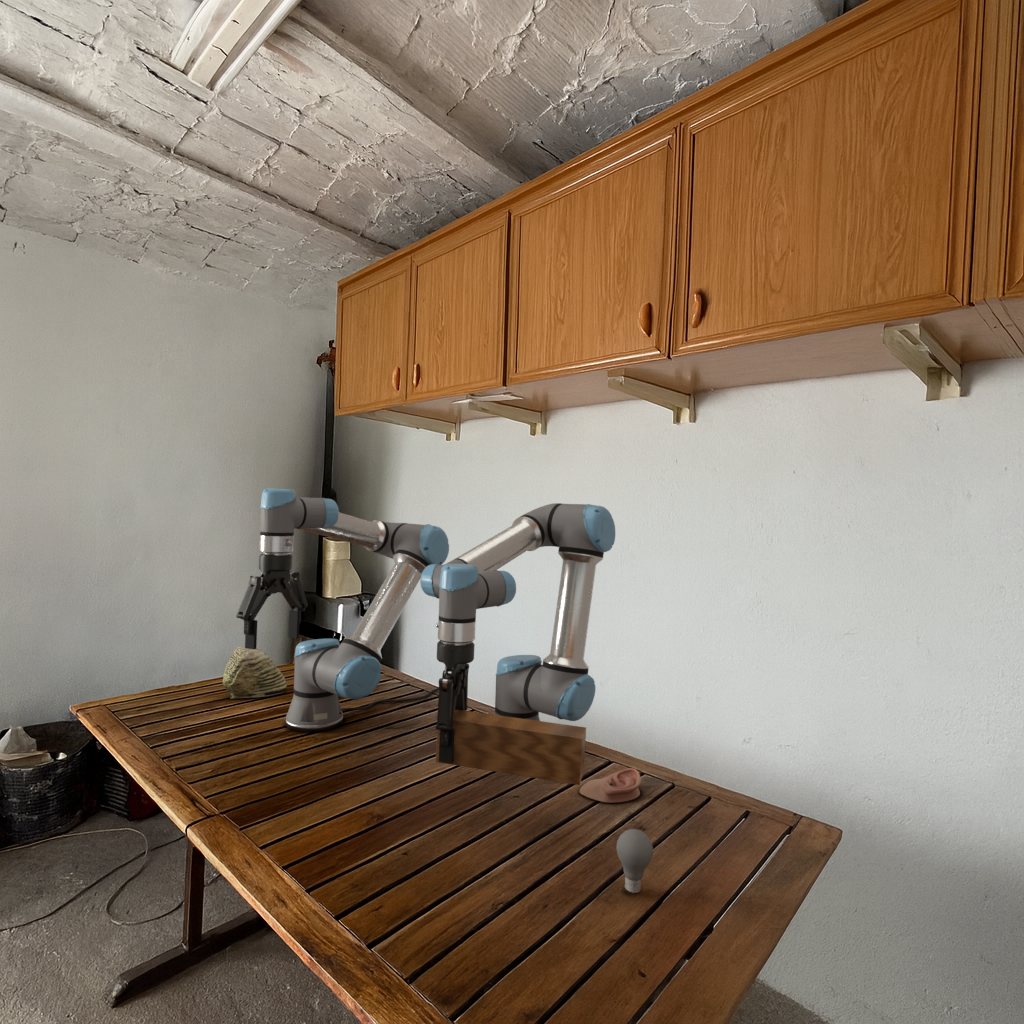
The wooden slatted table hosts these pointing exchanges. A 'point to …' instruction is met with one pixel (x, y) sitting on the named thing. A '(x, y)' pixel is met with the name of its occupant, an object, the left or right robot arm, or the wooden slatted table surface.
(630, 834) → the light bulb
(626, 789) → the anatomical model
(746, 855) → the wooden slatted table surface
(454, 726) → the box
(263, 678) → the fossil
